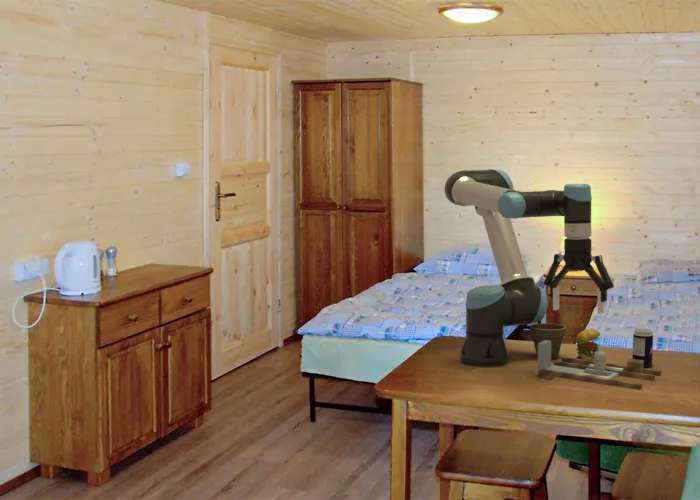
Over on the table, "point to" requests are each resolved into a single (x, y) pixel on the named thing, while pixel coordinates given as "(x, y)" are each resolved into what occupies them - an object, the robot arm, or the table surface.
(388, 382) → the table surface
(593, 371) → the pale grey slab
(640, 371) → the walnut cube
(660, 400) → the table surface
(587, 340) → the hamburger
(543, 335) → the flower pot
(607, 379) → the lane rails
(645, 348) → the beverage can
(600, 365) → the chess piece
